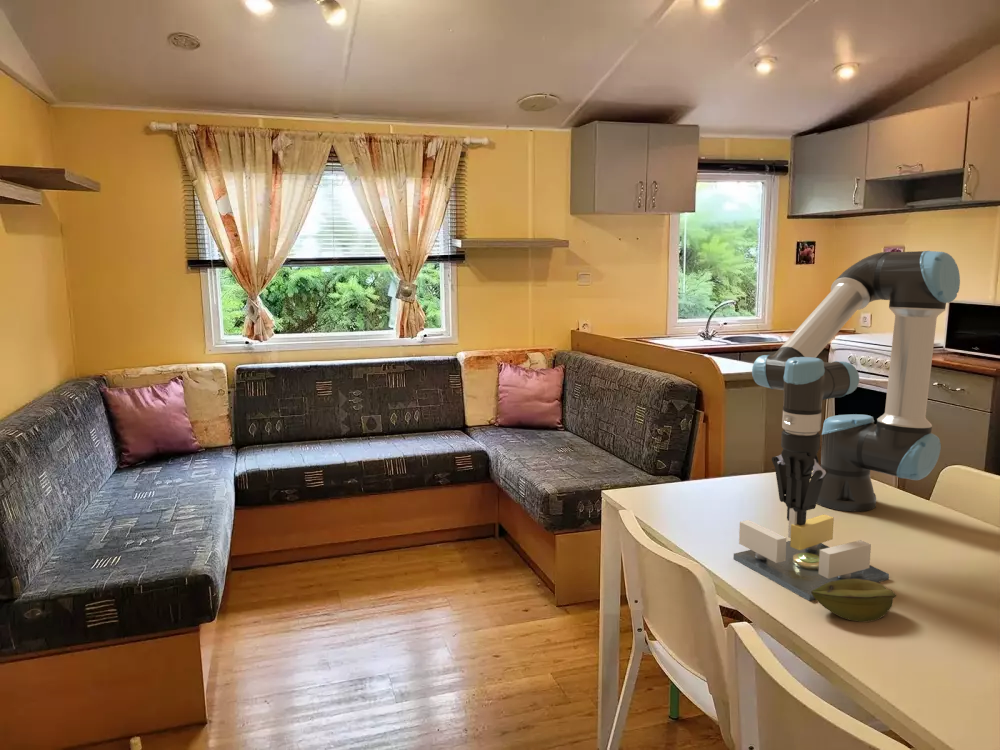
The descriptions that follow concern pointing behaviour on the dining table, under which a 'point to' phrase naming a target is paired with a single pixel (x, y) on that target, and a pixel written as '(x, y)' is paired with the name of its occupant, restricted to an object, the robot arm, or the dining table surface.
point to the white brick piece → (844, 559)
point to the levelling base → (801, 570)
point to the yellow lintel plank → (812, 532)
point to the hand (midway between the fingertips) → (795, 537)
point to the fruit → (855, 599)
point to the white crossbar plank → (762, 541)
